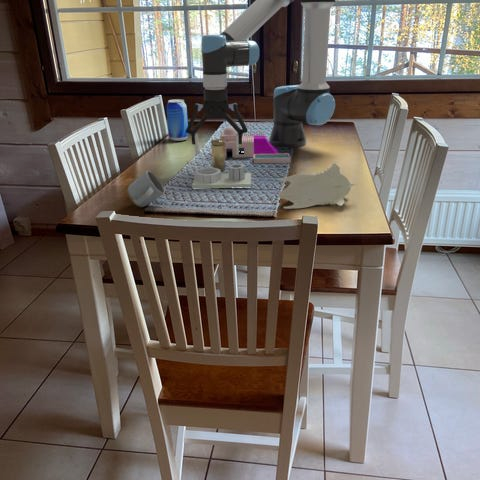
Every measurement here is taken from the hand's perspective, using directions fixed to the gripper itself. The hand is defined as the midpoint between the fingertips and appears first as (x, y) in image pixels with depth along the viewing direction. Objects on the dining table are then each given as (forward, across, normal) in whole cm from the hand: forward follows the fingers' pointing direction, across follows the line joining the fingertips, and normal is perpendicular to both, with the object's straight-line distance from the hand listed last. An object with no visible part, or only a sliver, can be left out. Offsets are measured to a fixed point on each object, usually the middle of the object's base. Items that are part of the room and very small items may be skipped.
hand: (217, 153), depth 156 cm
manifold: (+6, -2, +14) cm, 15 cm away
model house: (+6, -13, -16) cm, 21 cm away
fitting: (+6, 0, 0) cm, 6 cm away
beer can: (+6, +20, -45) cm, 50 cm away
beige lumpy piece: (+8, -31, +33) cm, 46 cm away
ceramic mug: (+6, +18, +34) cm, 39 cm away
